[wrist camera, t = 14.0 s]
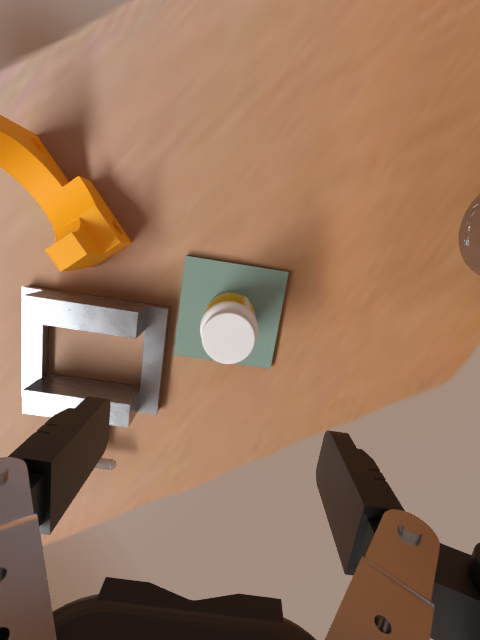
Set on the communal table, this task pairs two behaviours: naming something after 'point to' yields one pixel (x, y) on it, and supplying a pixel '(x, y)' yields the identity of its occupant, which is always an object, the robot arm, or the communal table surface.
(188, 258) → the mat
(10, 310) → the communal table surface
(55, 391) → the vise
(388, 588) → the robot arm
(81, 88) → the communal table surface
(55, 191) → the pipe clamp
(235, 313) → the supplement bottle
